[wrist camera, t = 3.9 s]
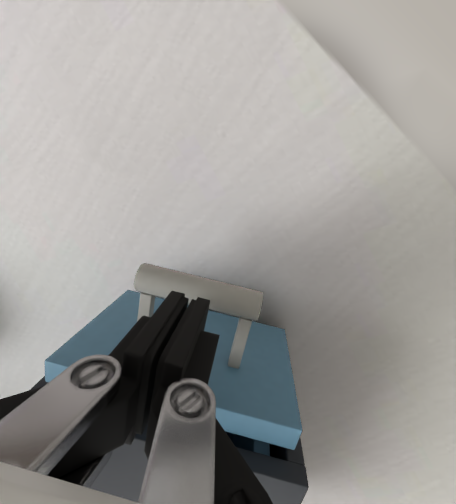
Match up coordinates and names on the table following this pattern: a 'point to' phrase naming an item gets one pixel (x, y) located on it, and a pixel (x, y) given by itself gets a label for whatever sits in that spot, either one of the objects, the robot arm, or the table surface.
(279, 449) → the small drawer unit
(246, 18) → the table surface
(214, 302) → the blue drawer
